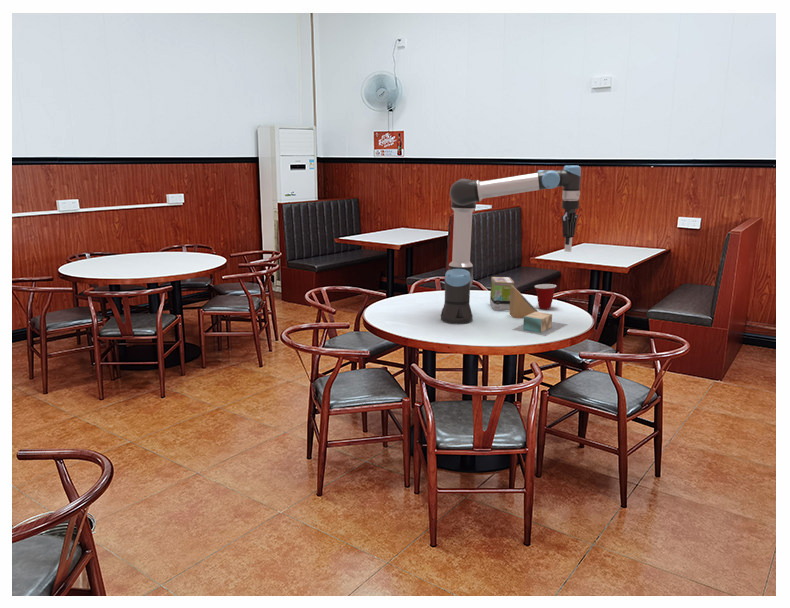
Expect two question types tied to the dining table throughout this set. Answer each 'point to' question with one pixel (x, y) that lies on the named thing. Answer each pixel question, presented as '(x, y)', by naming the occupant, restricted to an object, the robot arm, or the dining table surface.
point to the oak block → (537, 322)
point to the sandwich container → (519, 304)
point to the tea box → (500, 292)
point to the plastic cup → (545, 295)
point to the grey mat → (554, 327)
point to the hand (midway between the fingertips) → (567, 251)
